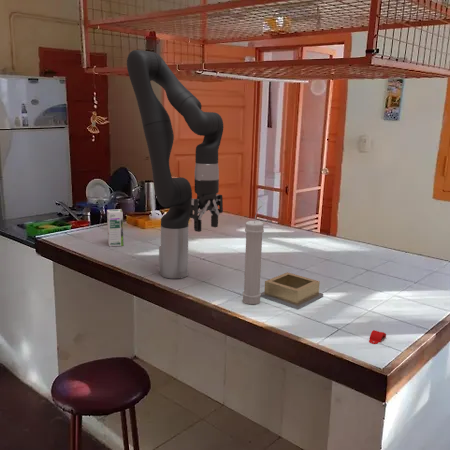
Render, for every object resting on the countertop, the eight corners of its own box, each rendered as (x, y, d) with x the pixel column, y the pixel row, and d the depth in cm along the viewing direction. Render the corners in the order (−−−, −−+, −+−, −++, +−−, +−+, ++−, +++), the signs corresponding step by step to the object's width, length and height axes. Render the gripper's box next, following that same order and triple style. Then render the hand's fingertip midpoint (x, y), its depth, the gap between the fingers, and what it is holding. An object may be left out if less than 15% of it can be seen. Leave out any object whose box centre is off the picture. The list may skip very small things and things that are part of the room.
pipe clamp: (377, 347, 125) (377, 339, 124) (366, 343, 127) (366, 335, 126) (388, 336, 131) (389, 328, 131) (377, 333, 133) (378, 325, 132)
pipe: (254, 296, 154) (258, 200, 147) (265, 304, 149) (270, 204, 142) (238, 299, 152) (242, 202, 145) (249, 307, 146) (253, 206, 139)
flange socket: (259, 296, 154) (260, 281, 153) (285, 285, 165) (286, 270, 164) (297, 309, 145) (298, 293, 144) (323, 296, 156) (324, 281, 155)
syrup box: (109, 247, 202) (108, 211, 199) (107, 243, 208) (106, 208, 204) (123, 246, 204) (122, 211, 201) (121, 242, 210) (121, 208, 206)
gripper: (210, 175, 163) (210, 224, 167) (182, 178, 152) (182, 231, 155) (229, 177, 159) (228, 227, 162) (202, 180, 148) (201, 234, 151)
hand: (206, 229), depth 159 cm, fingers open, 8 cm apart
